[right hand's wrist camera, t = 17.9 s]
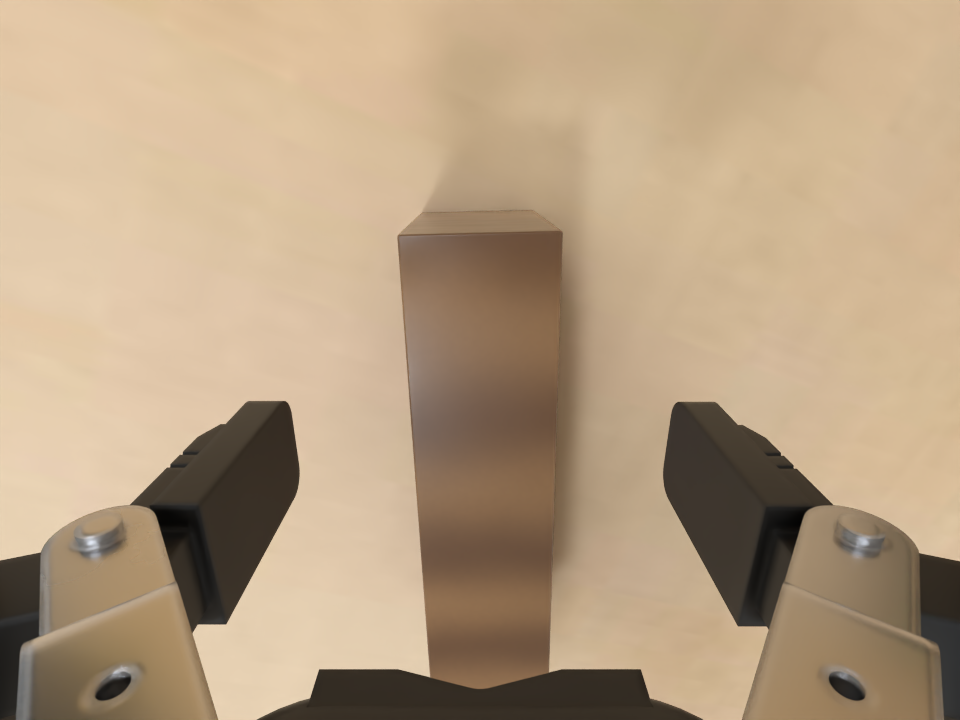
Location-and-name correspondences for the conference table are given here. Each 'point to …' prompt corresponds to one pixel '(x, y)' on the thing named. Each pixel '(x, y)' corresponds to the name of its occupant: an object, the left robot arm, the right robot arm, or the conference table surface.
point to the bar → (484, 435)
